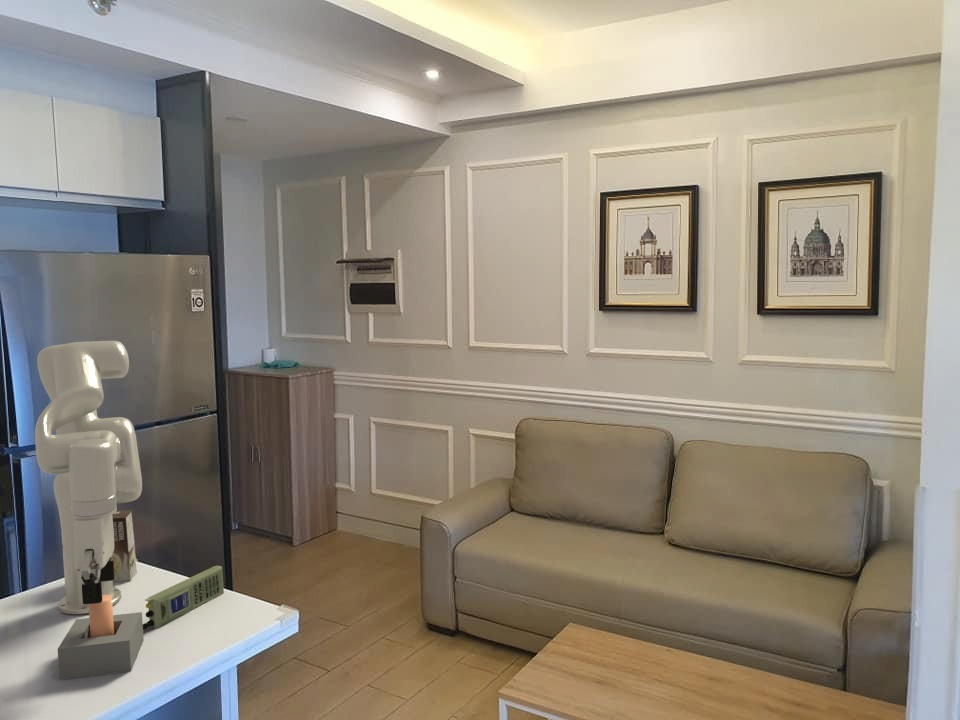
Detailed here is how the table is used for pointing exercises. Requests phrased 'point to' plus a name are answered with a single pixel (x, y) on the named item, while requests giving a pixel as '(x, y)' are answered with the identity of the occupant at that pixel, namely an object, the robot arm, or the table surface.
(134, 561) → the coffee box
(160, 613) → the handheld radio
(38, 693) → the table surface
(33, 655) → the table surface
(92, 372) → the robot arm
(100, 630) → the peg
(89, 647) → the socket block
